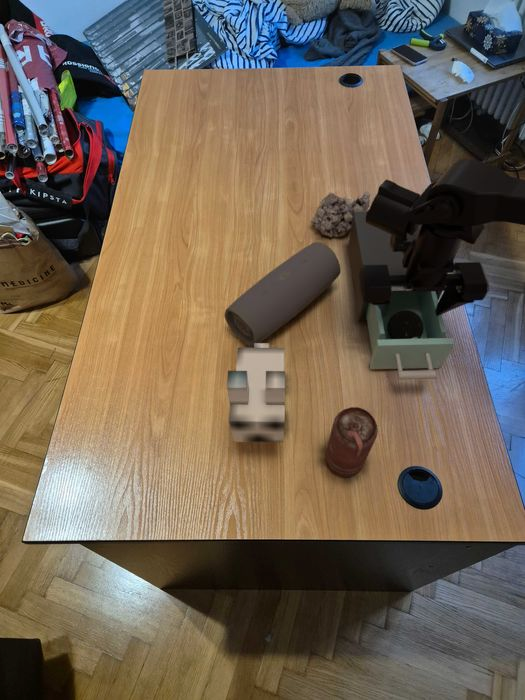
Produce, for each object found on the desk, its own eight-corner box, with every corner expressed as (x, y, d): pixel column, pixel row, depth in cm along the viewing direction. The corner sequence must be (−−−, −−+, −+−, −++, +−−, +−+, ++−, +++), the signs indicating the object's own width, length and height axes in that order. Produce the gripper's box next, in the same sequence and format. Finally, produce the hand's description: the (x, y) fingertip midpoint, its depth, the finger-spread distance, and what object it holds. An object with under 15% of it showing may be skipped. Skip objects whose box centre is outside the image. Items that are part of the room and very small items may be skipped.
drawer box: (429, 319, 90) (444, 286, 81) (358, 320, 90) (366, 288, 82) (411, 245, 100) (423, 209, 92) (347, 246, 100) (353, 211, 92)
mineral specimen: (373, 196, 103) (358, 174, 95) (377, 235, 101) (362, 216, 93) (322, 212, 109) (303, 193, 101) (325, 249, 107) (306, 233, 99)
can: (333, 484, 73) (343, 453, 61) (319, 447, 76) (327, 410, 65) (369, 474, 74) (387, 441, 62) (354, 437, 77) (368, 399, 65)
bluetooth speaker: (305, 266, 98) (308, 230, 89) (339, 290, 94) (345, 255, 85) (224, 330, 90) (219, 297, 81) (258, 359, 86) (256, 328, 77)
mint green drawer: (446, 391, 80) (461, 368, 74) (373, 393, 80) (382, 370, 74) (420, 287, 93) (431, 259, 86) (357, 288, 93) (363, 261, 86)
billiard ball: (393, 354, 83) (401, 336, 78) (379, 328, 86) (385, 308, 81) (424, 345, 84) (433, 326, 79) (408, 320, 87) (416, 300, 82)
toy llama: (283, 365, 85) (284, 296, 68) (283, 459, 76) (284, 405, 59) (242, 365, 85) (233, 296, 68) (237, 458, 76) (225, 405, 59)
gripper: (486, 207, 70) (454, 276, 84) (362, 211, 71) (349, 279, 84) (508, 262, 64) (469, 327, 78) (372, 266, 65) (356, 330, 78)
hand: (409, 314), depth 79 cm, fingers open, 9 cm apart
